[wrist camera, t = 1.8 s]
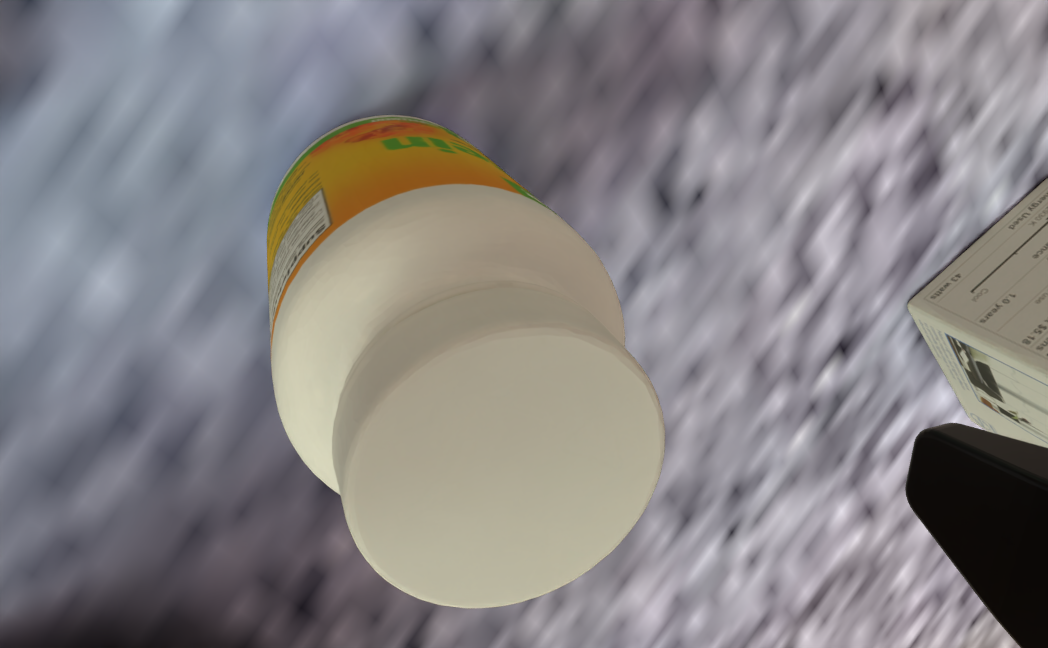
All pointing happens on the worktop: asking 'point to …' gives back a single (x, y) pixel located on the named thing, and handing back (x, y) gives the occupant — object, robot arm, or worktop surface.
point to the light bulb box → (996, 323)
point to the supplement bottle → (454, 366)
